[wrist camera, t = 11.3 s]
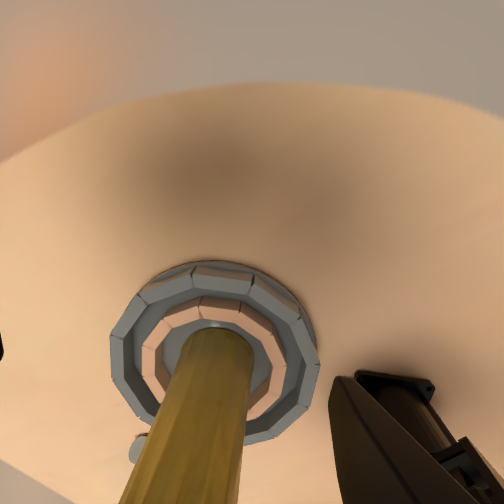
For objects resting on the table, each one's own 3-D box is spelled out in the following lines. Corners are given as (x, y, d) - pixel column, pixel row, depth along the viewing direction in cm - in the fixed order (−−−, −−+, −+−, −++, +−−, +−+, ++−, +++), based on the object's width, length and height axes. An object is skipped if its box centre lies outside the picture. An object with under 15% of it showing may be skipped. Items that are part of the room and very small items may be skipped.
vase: (209, 398, 23) (128, 731, 9) (165, 348, 22) (-5, 652, 8) (268, 369, 22) (274, 703, 8) (225, 313, 20) (145, 604, 7)
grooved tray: (335, 276, 20) (344, 290, 18) (296, 435, 25) (299, 462, 23) (120, 246, 20) (101, 256, 18) (124, 410, 25) (110, 435, 23)
